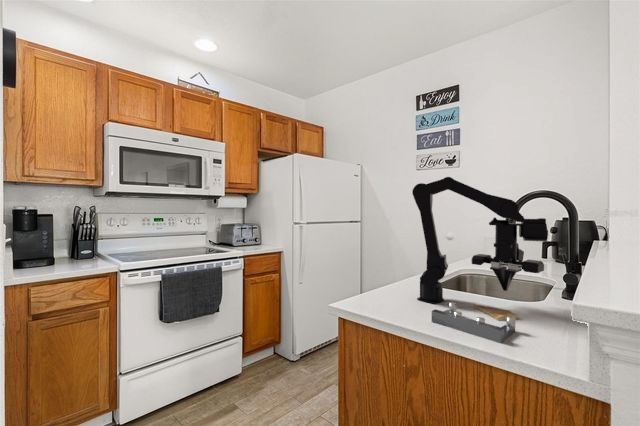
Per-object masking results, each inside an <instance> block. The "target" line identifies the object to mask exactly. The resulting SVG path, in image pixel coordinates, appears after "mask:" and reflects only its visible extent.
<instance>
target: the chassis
mask: <svg viewBox="0 0 640 426" xmlns="http://www.w3.org/2000/svg"><path fill="white" fill-rule="evenodd" d="M505 321H506V322H505V323H506V324H504V325H502V326H497V325H493V324H489V323H486V319H485V318H484V317H483V316H477V317H475V319H471V318H468V317H465V316H463V312H462V311H459V310H457V303H456V302H452V301H451V302H448V309H446V310H443V311H442V310H438V309H433V310H431V322H432V323H433V324H434V323H435V324H438V325H441V326H445V327H448V328H451V329H453V330H457V331H461V332H464V333H467V334H469V335H473V336H475V337H476V336H477V337H480V338H483V339H487V340H490V341H492V342H496V343H500V344H501V343H503V342H504V341H505V340H507V339H508V338H509V337H511V336H513V334H514V333H516V319H515V318H514V317H511V316H507V317H506V320H505Z"/></svg>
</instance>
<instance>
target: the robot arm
mask: <svg viewBox="0 0 640 426" xmlns="http://www.w3.org/2000/svg"><path fill="white" fill-rule="evenodd" d="M445 191H451V192H453V193H456V194H458V195H460V196H463V197H465V198H467V199H469V200H472V201H473V202H476V203H478V204H480V205H483V206H484V207H486V208H487V209H488V210H490V211H492V212H493V213H494V214H495V215H497V216H500V217H501V218H504V219H497V217H493V218H492V220H491V221H489V222H488V224H489V226H495V234H494V235H495V240H494V241H495V243H493V248H494V249H495V253H494V255H495V256H493V257H492V255H491V254H484V253H478V254H474V255H473V256H472V257H471V264H472V265H476V266H482V265H483V264H484V263H485V264H490V267H489V269H490V270H491V271H493V272H494V275H495V276H496V278H497V280H498V282H499V284H500V286H501V289H502V290H503V291H505V292H507V291H508V290H509V288H510V285H511V283H512V281H513V279H514V277H515V275H516V274H517V273H519V272H522V271H524V272H525V273H530V274H531V273H534V274H539V273H541V272H543V271H545V264H544V262H543V261H542V260H535V259H527V260H524V255H525V251H524V250H523V249H521V248H519V243H518V241H517V240H518V237H519V238H522V239H523V240H522V241H523V242H524V241H525V242H526V241H527V242H548V238H549V230H548V226H547V219H546V218H545V217H542V218H541V217H540V218H539V217H538V218H525V216H524V215H522V214H521V213H520V212H519V206H518V204H517V202H516V201H514V200H512V199H509V198H505V197H502V196H497V195H492V194H489V193H486V192H484V191H481V190H479V189H477V188H475V187H472V186H471V185H468V184H466V183H463V182H462V181H461V182H460V181H458V180H456V179H454V178H453V177H450V176H446V177H444V178H442V179H438V180H435V181H432V182H428V183H423V182H422V183H421V182H420V183H417V184H416V185H414V186H413V188H412V191H411V192H412V196H413V199H414V201H415V204H416V206H417V208H418V210H419V214H420V220H421V224H422V225H421V226H422V230H423V236H424V241H425V247H426V270H424V272H422V274H421V276H420V277H419V280H420V281H419V297H417V298H416V300H418V301H421V302H425V303H428V304H432V305H433V304H435V305H436V304H437V303H440V302H443V301H445V298H443V293H444V292H443V287H442V282H440V280H442V279H443V278H444V277H445V275H446V273H447V270H448V268H449V264H448V263H447V254H442V252H441V250H440V247H439V240H438V235H437V231H436V223H435V220H434V219H435V218H434V215H433V213H434V212H433V201H434V199H433V197H434V195H437V194H439V193H442V192H445ZM509 219H511V220H512V221H515V222H517V223H513V222H511V223H510V221H509Z"/></svg>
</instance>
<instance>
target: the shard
mask: <svg viewBox="0 0 640 426" xmlns="http://www.w3.org/2000/svg"><path fill="white" fill-rule="evenodd" d="M473 306H474V309H475V310H477V311H479V312H481V313H484V314H486V315H487V316H489V317H491V318H492V319H495V320H496V321H506V317H507V316H511V317H514V318H515V320H517V319H518V317H519V314H517V313H515V312H514V311H512V310H508V309H503V308H498V307H497V308H496V307H492V306H483V305H477V304H473Z"/></svg>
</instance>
